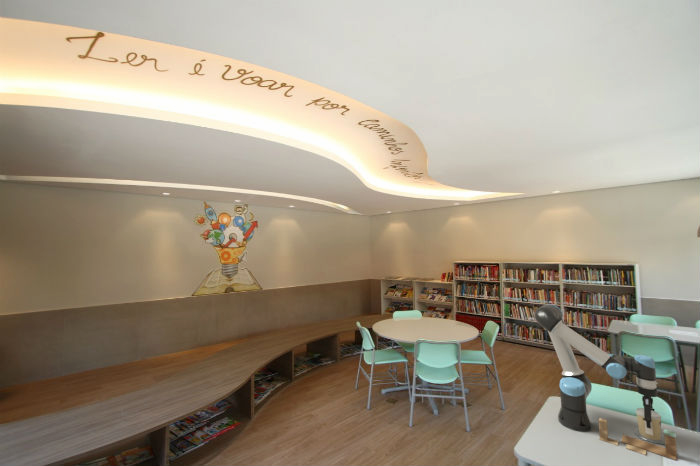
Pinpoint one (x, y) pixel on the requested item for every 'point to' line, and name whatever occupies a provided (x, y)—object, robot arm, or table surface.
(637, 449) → the broken strip
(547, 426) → the table surface
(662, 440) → the coaster
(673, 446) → the wooden l bracket
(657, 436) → the coffee cup
